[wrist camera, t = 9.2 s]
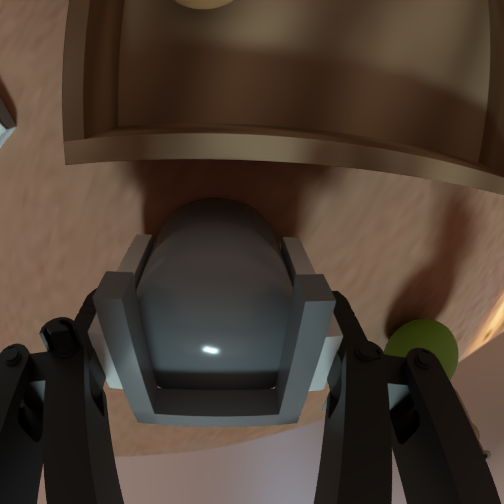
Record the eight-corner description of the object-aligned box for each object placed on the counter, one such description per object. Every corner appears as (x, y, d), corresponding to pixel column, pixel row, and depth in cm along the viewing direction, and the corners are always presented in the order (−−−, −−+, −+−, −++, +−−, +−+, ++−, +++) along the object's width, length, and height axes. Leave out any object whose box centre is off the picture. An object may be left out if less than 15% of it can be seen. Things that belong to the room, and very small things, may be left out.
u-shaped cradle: (160, 306, 16) (137, 422, 10) (150, 198, 13) (92, 297, 7) (272, 307, 17) (297, 423, 10) (284, 200, 14) (336, 300, 7)
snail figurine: (423, 279, 17) (529, 426, 7) (440, 329, 20) (513, 449, 10) (355, 326, 19) (427, 495, 8) (384, 367, 21) (440, 497, 11)
